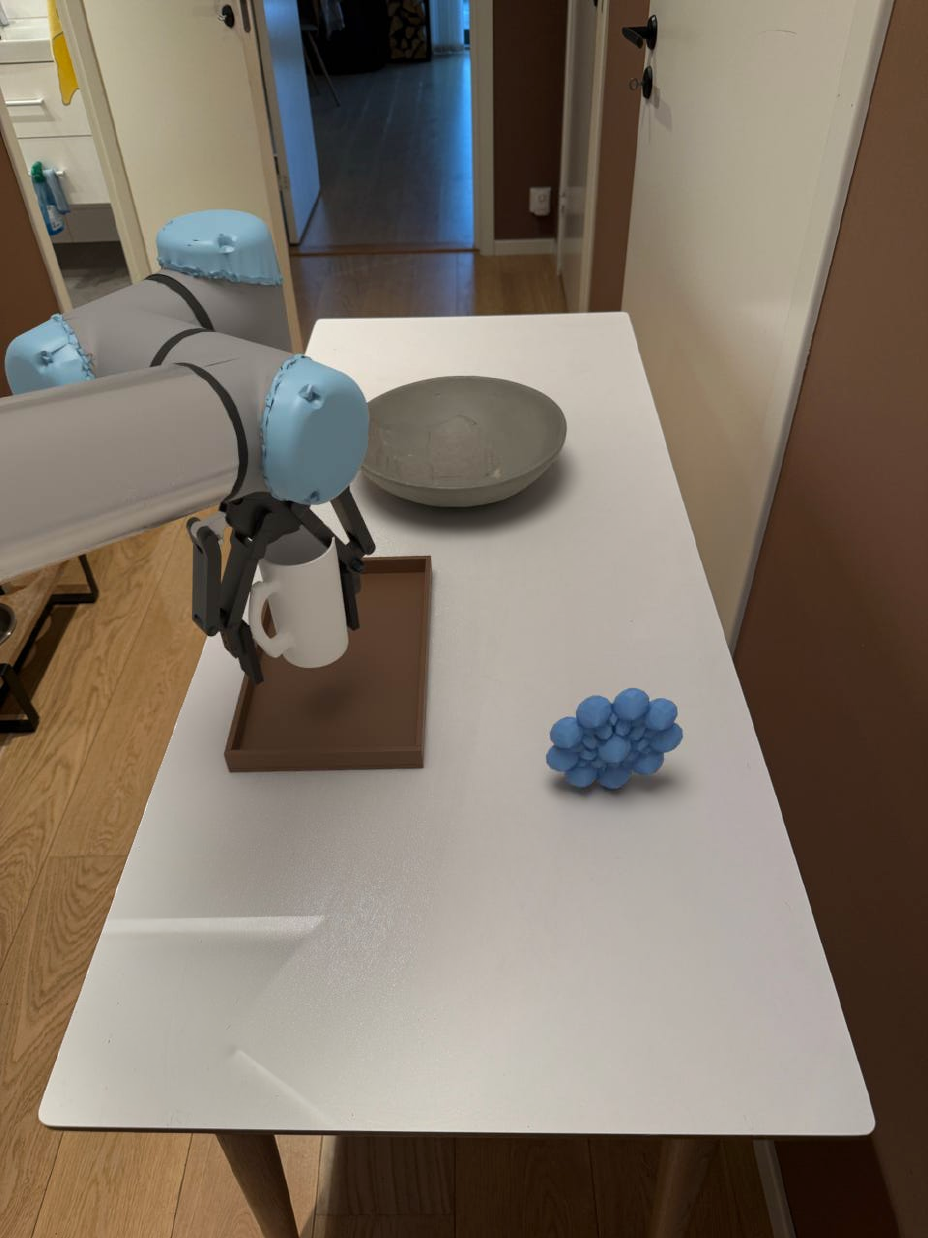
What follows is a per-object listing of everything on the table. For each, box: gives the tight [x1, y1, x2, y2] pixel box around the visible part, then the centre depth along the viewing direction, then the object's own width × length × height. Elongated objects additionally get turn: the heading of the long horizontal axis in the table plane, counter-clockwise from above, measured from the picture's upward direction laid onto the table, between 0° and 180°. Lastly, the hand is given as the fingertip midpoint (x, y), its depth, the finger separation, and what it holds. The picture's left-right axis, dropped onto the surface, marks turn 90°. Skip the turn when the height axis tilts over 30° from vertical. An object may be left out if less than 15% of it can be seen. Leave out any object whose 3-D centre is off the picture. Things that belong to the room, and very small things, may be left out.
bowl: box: [359, 375, 568, 508], centre depth 119 cm, size 27×28×8 cm
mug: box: [247, 524, 348, 668], centre depth 81 cm, size 10×7×12 cm, turn 146°
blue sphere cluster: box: [545, 687, 684, 790], centre depth 80 cm, size 12×7×12 cm, turn 90°
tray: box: [223, 554, 433, 773], centre depth 96 cm, size 29×18×2 cm, turn 0°
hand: (301, 647), depth 84 cm, fingers closed on mug, 10 cm apart
